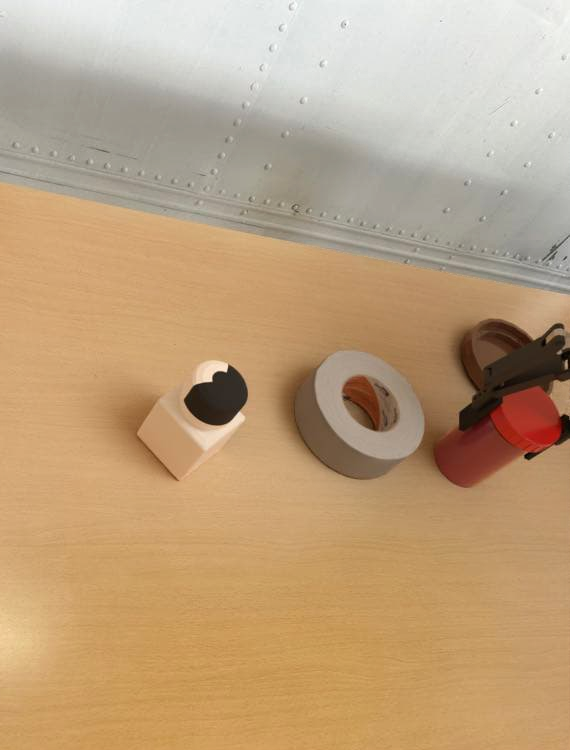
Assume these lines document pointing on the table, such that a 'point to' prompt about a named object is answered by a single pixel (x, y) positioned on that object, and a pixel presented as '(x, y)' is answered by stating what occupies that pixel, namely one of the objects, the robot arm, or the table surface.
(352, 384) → the tape roll
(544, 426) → the lid
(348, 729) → the table surface
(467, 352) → the dish
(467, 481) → the jam jar
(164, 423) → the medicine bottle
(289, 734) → the table surface
